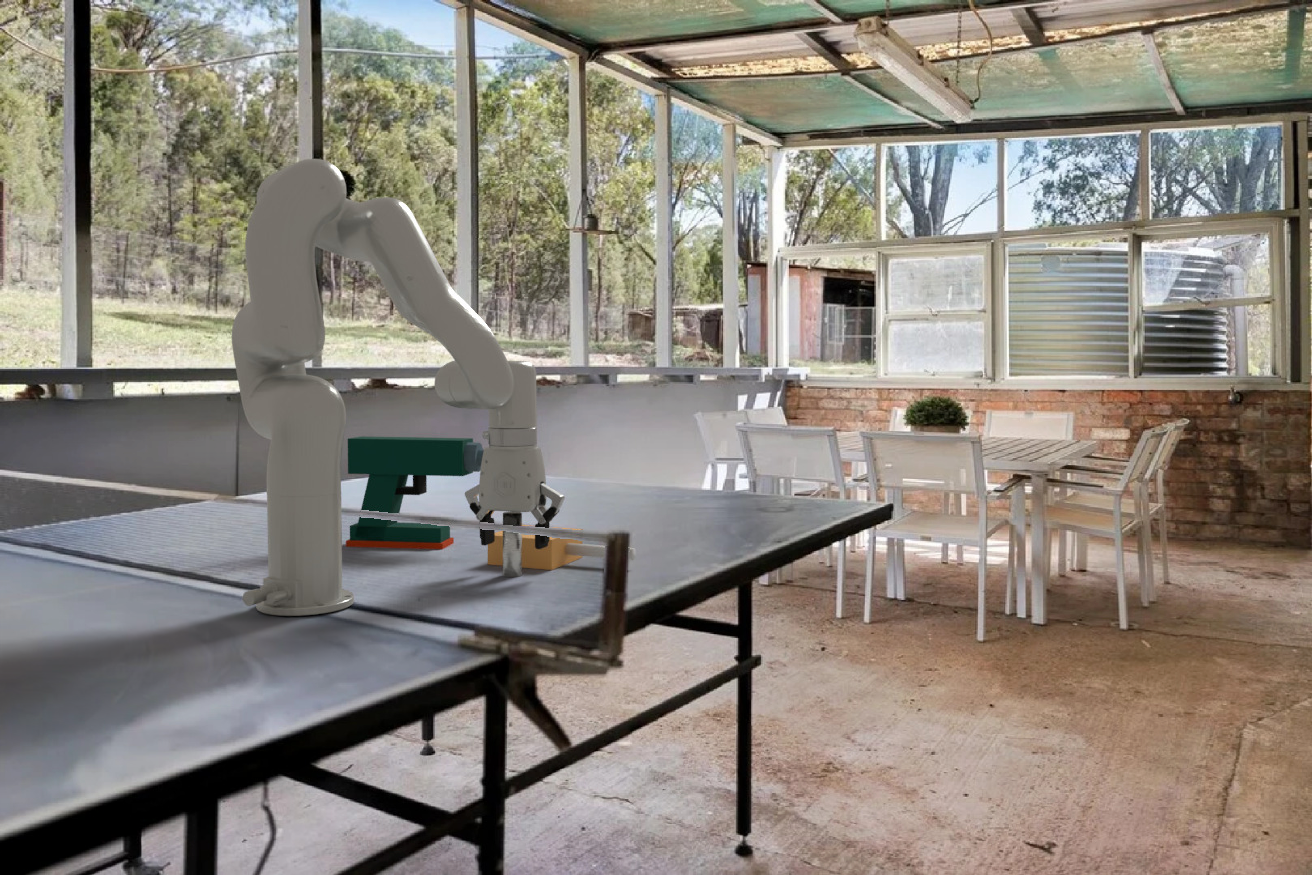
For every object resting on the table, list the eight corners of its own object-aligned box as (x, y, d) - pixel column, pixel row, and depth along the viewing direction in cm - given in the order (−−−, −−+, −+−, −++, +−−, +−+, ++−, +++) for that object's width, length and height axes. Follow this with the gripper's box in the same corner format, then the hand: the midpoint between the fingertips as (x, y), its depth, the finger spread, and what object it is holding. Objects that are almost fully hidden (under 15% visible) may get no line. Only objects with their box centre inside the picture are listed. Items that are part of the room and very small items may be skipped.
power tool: (524, 544, 181) (524, 439, 180) (515, 551, 174) (515, 441, 173) (361, 540, 184) (360, 436, 183) (345, 546, 177) (344, 438, 176)
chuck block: (619, 576, 153) (619, 545, 153) (487, 564, 162) (487, 534, 161) (646, 562, 164) (646, 533, 164) (521, 552, 173) (521, 524, 172)
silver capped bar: (516, 577, 151) (516, 514, 151) (499, 576, 152) (499, 513, 152) (525, 574, 154) (525, 512, 153) (508, 572, 155) (508, 511, 154)
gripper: (452, 439, 151) (454, 546, 153) (551, 442, 145) (552, 553, 147) (477, 436, 158) (479, 538, 160) (572, 438, 152) (573, 545, 154)
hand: (514, 545), depth 153 cm, fingers open, 9 cm apart
